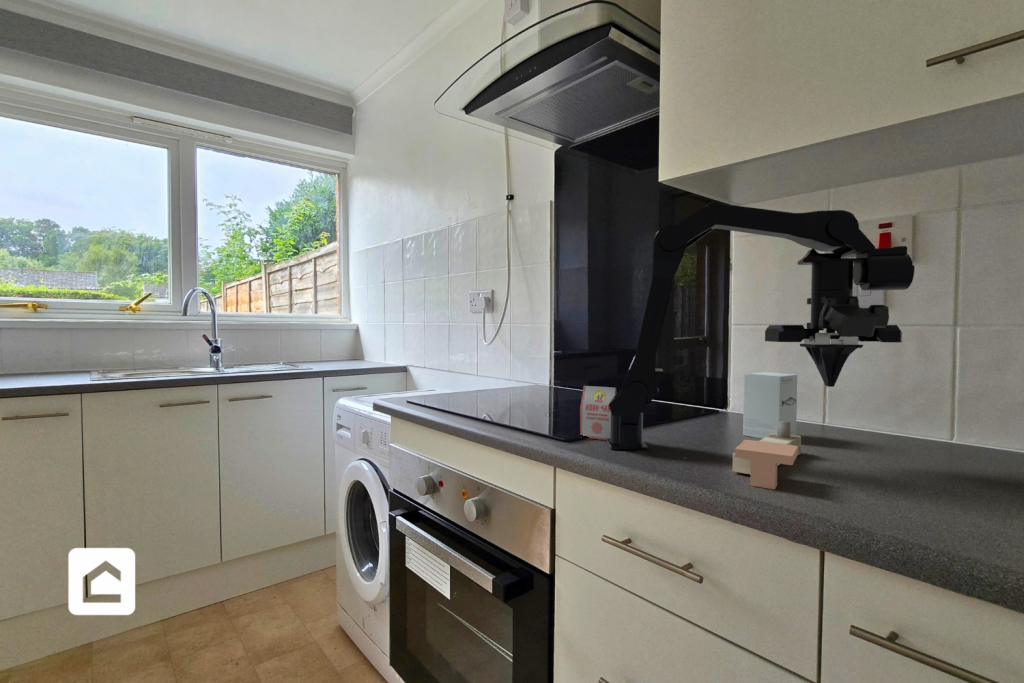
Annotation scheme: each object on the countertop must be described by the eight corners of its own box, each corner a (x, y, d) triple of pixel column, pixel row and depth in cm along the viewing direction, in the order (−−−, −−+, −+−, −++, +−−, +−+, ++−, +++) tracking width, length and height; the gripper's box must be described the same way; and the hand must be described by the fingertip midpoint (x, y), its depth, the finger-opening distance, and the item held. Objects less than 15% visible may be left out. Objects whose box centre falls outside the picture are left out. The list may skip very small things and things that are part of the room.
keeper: (744, 470, 75) (744, 439, 75) (797, 479, 71) (798, 445, 71) (734, 482, 69) (735, 448, 69) (791, 492, 65) (792, 456, 65)
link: (771, 446, 89) (772, 418, 89) (804, 451, 85) (804, 421, 85) (728, 470, 74) (728, 436, 74) (765, 477, 70) (766, 441, 70)
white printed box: (587, 433, 101) (587, 385, 101) (619, 437, 98) (619, 386, 97) (580, 437, 98) (579, 386, 98) (612, 441, 94) (612, 388, 94)
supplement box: (779, 442, 94) (780, 376, 93) (741, 435, 100) (742, 373, 99) (797, 437, 98) (798, 373, 98) (760, 431, 104) (761, 371, 104)
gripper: (796, 287, 74) (794, 392, 74) (929, 286, 72) (927, 393, 73) (764, 292, 85) (762, 383, 85) (879, 292, 83) (877, 384, 84)
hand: (829, 386), depth 81 cm, fingers closed
